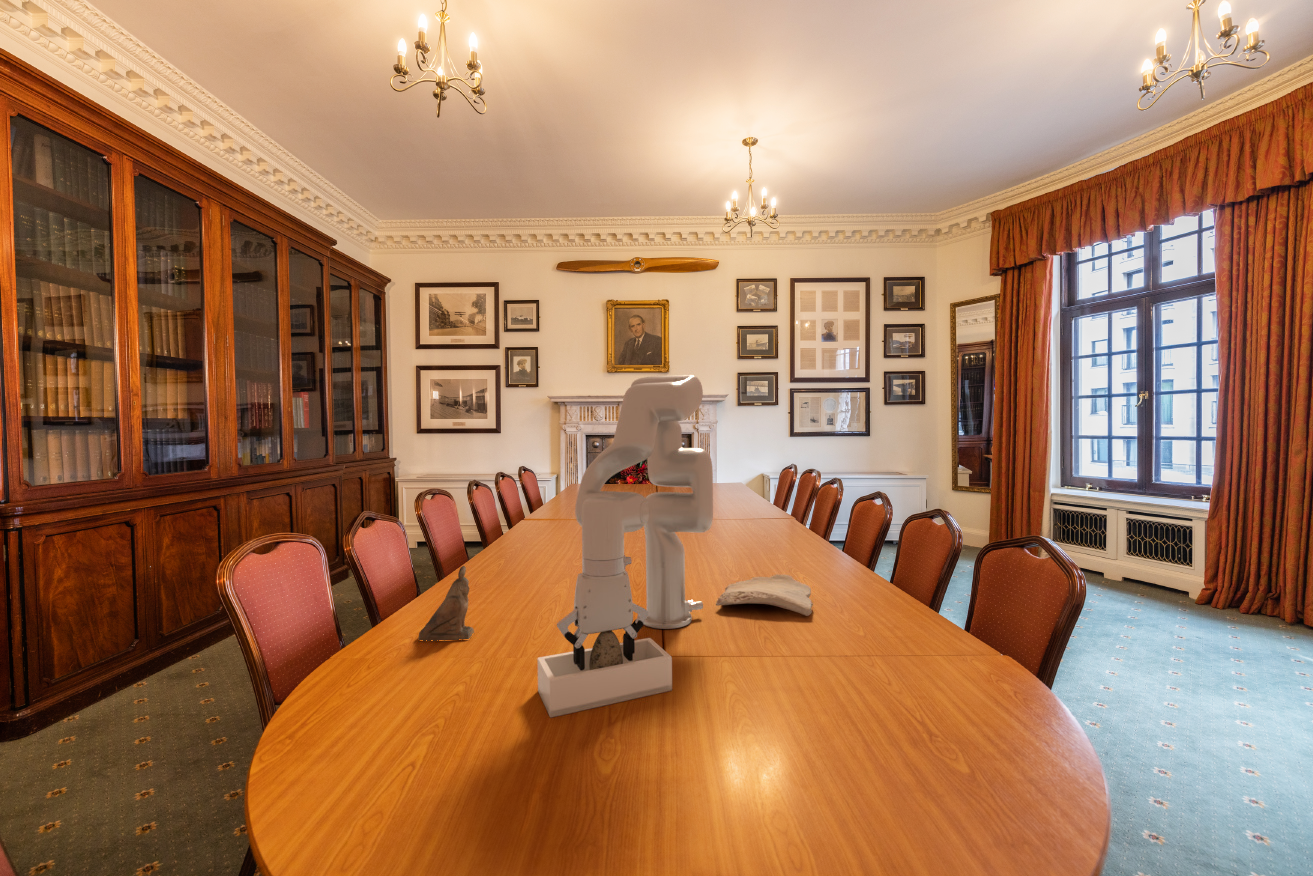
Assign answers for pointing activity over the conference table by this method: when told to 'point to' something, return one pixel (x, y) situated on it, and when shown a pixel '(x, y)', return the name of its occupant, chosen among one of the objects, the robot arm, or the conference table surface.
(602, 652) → the decorative egg
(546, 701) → the open rectangular box
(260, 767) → the conference table surface
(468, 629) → the brown carved statuette
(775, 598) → the beige curved fragment
